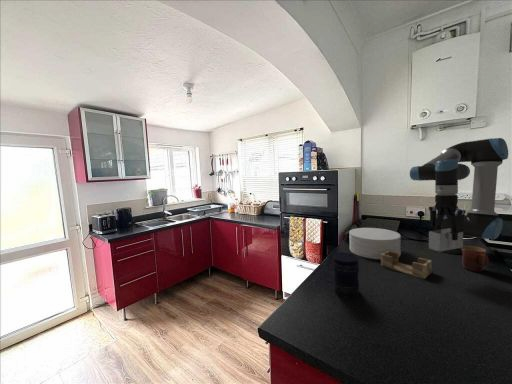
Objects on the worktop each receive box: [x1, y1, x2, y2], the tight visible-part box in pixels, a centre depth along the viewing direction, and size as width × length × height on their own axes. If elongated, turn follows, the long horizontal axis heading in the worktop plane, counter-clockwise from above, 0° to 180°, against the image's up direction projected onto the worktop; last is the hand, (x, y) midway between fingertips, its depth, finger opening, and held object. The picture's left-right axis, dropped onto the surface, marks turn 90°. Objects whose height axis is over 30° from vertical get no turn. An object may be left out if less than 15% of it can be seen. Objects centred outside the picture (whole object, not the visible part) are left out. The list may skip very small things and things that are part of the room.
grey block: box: [428, 228, 464, 252], centre depth 95 cm, size 4×14×8 cm, turn 104°
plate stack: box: [348, 227, 402, 260], centre depth 132 cm, size 28×28×12 cm
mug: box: [461, 245, 489, 273], centre depth 100 cm, size 12×9×10 cm
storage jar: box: [332, 252, 360, 298], centre depth 88 cm, size 10×10×15 cm
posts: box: [380, 251, 433, 280], centre depth 106 cm, size 10×19×6 cm, turn 36°
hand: (445, 245), depth 96 cm, fingers closed on grey block, 4 cm apart
